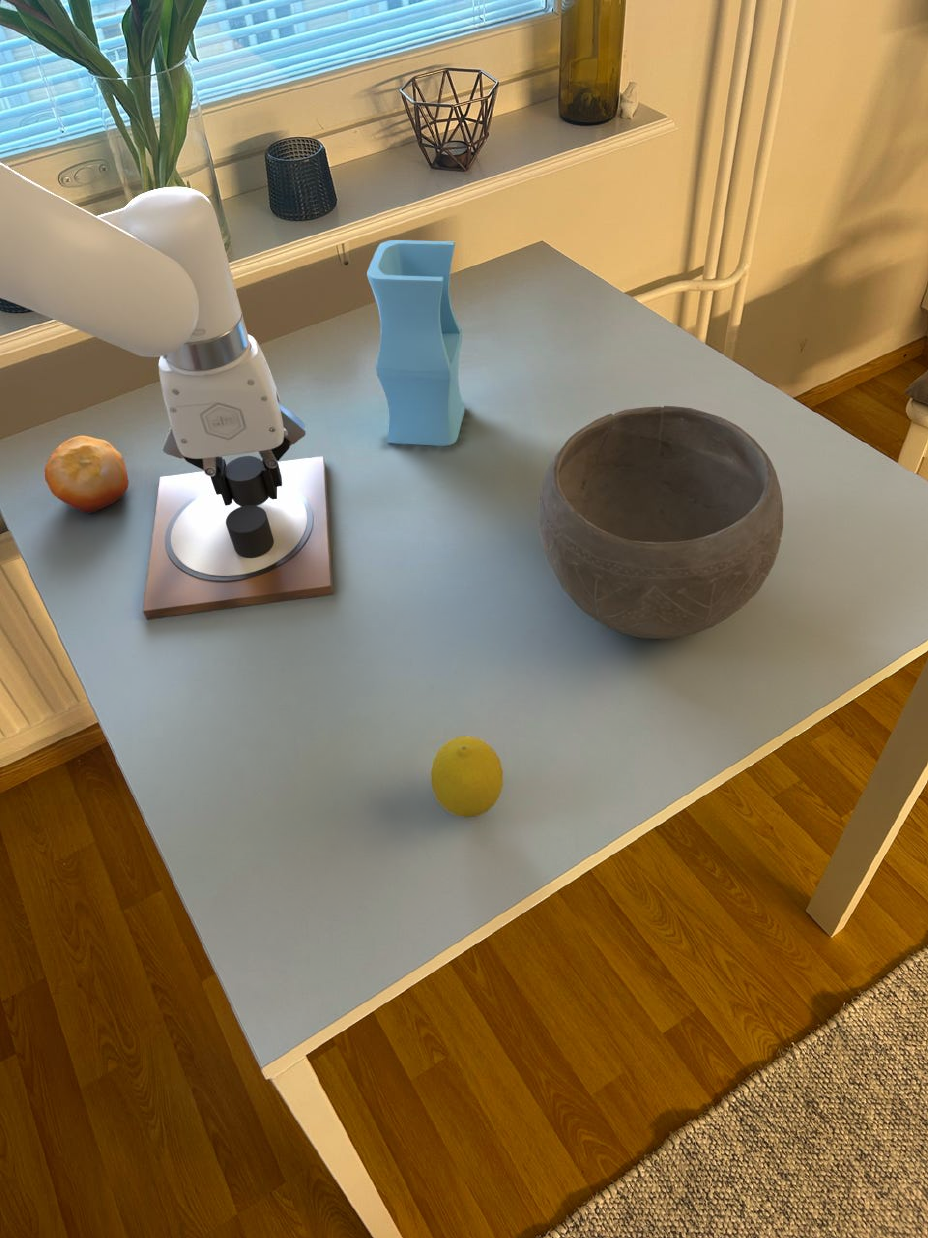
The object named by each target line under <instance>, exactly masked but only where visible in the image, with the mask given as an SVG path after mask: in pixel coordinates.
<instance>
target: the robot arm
mask: <svg viewBox="0 0 928 1238" xmlns="http://www.w3.org/2000/svg"><path fill="white" fill-rule="evenodd" d="M219 223H220V222H219V220H218V216H217V214H216V211H215V208H214V206H213V204H212V202H211V201H210V200H209V199H208V197H207V196H205V195H204V194H203V193H202V192H200V191H198V190H195V189H192V188H189V187H184V186H170V187H169V186H168V187H162V188H161V187H160V188H157V189H153V190H148V191H147V192H144V193H142V194H139V195H138V196H136V197H134V198H133V199H131V201H130V202H129V203H127V205H126V206H124V207H123V208H120V209H116V210H114V211H111V212H107V213H103V214H100V215H94V214H93V213H91V212H89V211H87V210H85V209H84V208H81V207H80V206H78V205H75V204H74V203H72V202H70V201H68V200H67V199H65V198H62V197H61V196H59V195H57V194H55V193H53V192H51V191H49V190H47V189H46V188H44V187H43V186H40V185H39V184H37V183H35V182H33V181H31V180H30V179H28V178H26V177H25V176H23V175H21V174H20V173H18V172H17V171H14V170H13V169H11V167H9V166H6V165H5V164H3V163H2V162H0V299H1V300H5V301H7V302H9V303H13V304H15V305H18V306H20V307H22V308H25V309H28V310H30V311H32V312H35V313H37V314H40V315H42V316H44V317H47V318H48V319H52V320H54V321H56V322H59V323H61V324H63V325H65V326H68V327H70V328H73V329H75V330H77V331H80V332H82V333H84V334H87V335H89V336H92V337H95V338H97V339H99V340H101V341H104V342H106V343H109V344H110V345H113V346H115V347H118V348H120V349H123V350H124V351H127V352H129V353H132V354H133V355H137V356H140V357H145V358H157V357H160V358H159V360H158V364H157V365H158V374H159V381H160V387H161V391H162V396H163V401H164V405H165V409H166V412H167V416H168V419H169V424H170V426H169V428H168V430H167V432H166V436H165V438H164V441H163V447H162V452H163V453H164V454H166V455H168V456H171V457H175V458H178V459H181V460H182V459H184V460H185V462H187V463H188V464H191V465H193V466H194V467H196V468H198V469H200V470H202V471H204V473H205V474H206V475H207V476H210V478H211V481H212V484H213V487H214V490H215V492H216V495H220V494H221V495H222V498H223V501H224V504H225V506H228V505H231V504H232V499H233V498H232V495H231V492H230V489H229V486H228V483H227V480H226V477H225V467H226V466H227V462H226V460H225V458H223V457H225V456H226V457H227V456H234V455H242V454H249V453H256V452H258V454H259V455H260V458H261V461H262V473H263V477H264V480H265V484H266V487H267V491H268V494H269V498H270V499H271V498H272V500H273V499H277V487H281V486H282V476H281V472H280V468H279V464H278V462H280V460H281V459H282V458H283V457H284V455H285V454H286V453H287V452H288V451H289V449H290V447H291V446H292V445H294V444H296V443H297V442H299V441H300V440H301V439H303V438H304V437H305V436H306V435H307V431H306V429H307V428H306V427H307V426H306V423H305V422H303V421H302V420H301V419H300V418H299V417H298V416H296V415H295V414H294V412H292V411H291V410H290V409H289V408H287V407H286V406H285V405H284V404H283V403H282V401H281V399H280V395H279V392H278V389H277V386H276V383H275V381H274V377H273V374H272V372H271V370H270V367H269V364H268V362H267V360H266V357H265V355H264V353H263V351H262V348H261V347H260V345H259V343H258V341H257V340H256V338H255V337H254V336H253V335H251V334H248V330H247V327H246V323H245V319H244V315H243V311H242V308H241V304H240V301H239V297H238V292H237V289H236V285H235V282H234V277H233V274H232V270H231V266H230V262H229V259H228V255H227V251H226V246H225V243H224V239H223V235H222V232H221V228H220V224H219Z"/></svg>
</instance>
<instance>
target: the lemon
mask: <svg viewBox="0 0 928 1238" xmlns="http://www.w3.org/2000/svg"><path fill="white" fill-rule="evenodd" d="M430 781H431V782H430V783H431V784H430V785H431V789H432V791H433V795H434V797H435V799H436V800H437V802H438V803H439V805H440V806H441V807H442V808H443V809H445V810H446V811H448V812H449V813H450V814H452V815H454V816H456V817H460V818H461V817H463V818H474V817H477V816H481V815H483V814H484V813H486V812H488V811H489V810H490V809H492V808H493V806H494V805H496V802H497V801H498V800H499V797H500V796H501V792H502V789H503V785H504V783H503V782H504V772H503V768H502V764H501V761H500V759H499V756H498V755H497V753H496V752H495V750H494V749H493V748H492V746H491V745H489V743H487V742H486V741H485V740H483V739H481V738H479V737H475V736H470V735H461V736H457V737H454V738H451V739H449V740H448V741H447V742H445V743H444V744H443V745H442V746H441V747H440V748H439V749H438V751H437V752H436V754H435V757H434V758H433V761H432V766H431V770H430Z"/></svg>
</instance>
